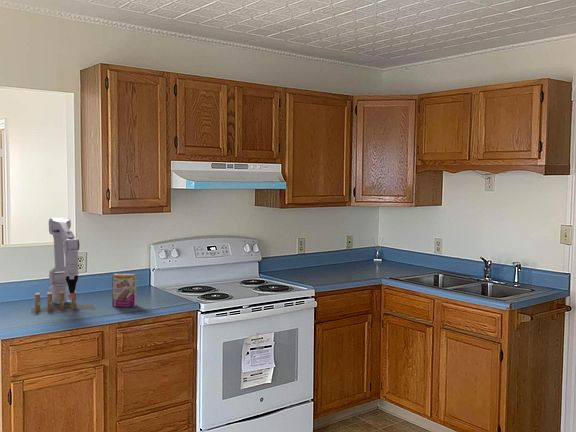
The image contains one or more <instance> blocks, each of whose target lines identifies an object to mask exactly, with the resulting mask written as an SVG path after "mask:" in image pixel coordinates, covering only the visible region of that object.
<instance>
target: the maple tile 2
mask: <svg viewBox="0 0 576 432" xmlns="http://www.w3.org/2000/svg"><path fill="white" fill-rule="evenodd" d="M46 299H47V307H48V310H52V306H53V303H52V292H49V291H47V298H46Z"/></svg>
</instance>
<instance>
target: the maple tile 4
mask: <svg viewBox="0 0 576 432" xmlns="http://www.w3.org/2000/svg"><path fill="white" fill-rule="evenodd" d="M71 305H72V309H76V305H77V291H76V290H75V292H74V298H71Z"/></svg>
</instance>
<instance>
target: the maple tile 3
mask: <svg viewBox="0 0 576 432" xmlns="http://www.w3.org/2000/svg"><path fill="white" fill-rule="evenodd" d="M59 306H60V310H61V309H64V306H65V303H64V291H60V304H59Z"/></svg>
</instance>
